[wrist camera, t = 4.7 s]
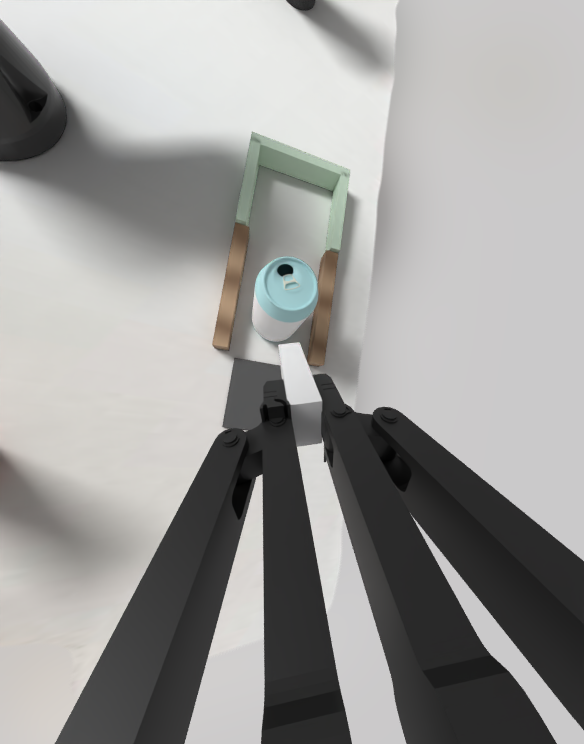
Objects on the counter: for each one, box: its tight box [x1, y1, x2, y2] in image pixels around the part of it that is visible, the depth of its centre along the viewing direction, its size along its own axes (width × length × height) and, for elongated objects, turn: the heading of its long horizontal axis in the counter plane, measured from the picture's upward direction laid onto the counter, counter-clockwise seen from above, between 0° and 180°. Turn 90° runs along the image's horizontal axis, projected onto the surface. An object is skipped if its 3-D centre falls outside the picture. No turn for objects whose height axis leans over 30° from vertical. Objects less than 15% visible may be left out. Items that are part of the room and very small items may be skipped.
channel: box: [212, 223, 338, 366], centre depth 32 cm, size 18×16×2 cm
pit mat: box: [223, 358, 282, 430], centre depth 32 cm, size 10×10×1 cm
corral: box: [236, 132, 350, 253], centre depth 34 cm, size 14×16×3 cm
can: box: [252, 256, 318, 342], centre depth 27 cm, size 7×7×12 cm
